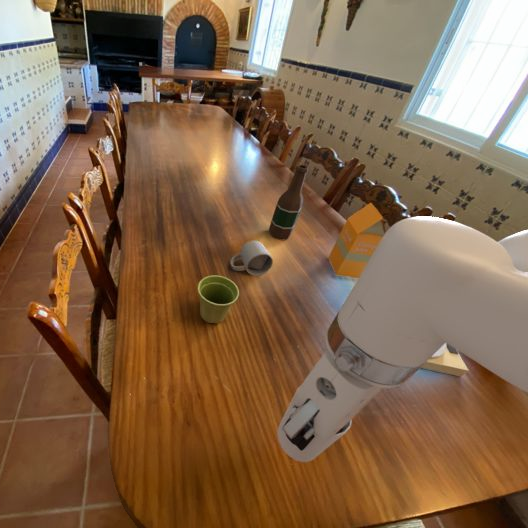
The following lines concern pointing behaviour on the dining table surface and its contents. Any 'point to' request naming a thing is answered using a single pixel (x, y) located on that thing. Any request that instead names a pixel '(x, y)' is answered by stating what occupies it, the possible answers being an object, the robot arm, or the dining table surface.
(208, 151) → the dining table surface
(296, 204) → the beer bottle
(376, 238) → the orange juice
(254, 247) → the ceramic mug
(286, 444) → the white cup
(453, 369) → the scale
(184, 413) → the dining table surface
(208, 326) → the dining table surface
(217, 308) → the plant pot
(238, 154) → the dining table surface
